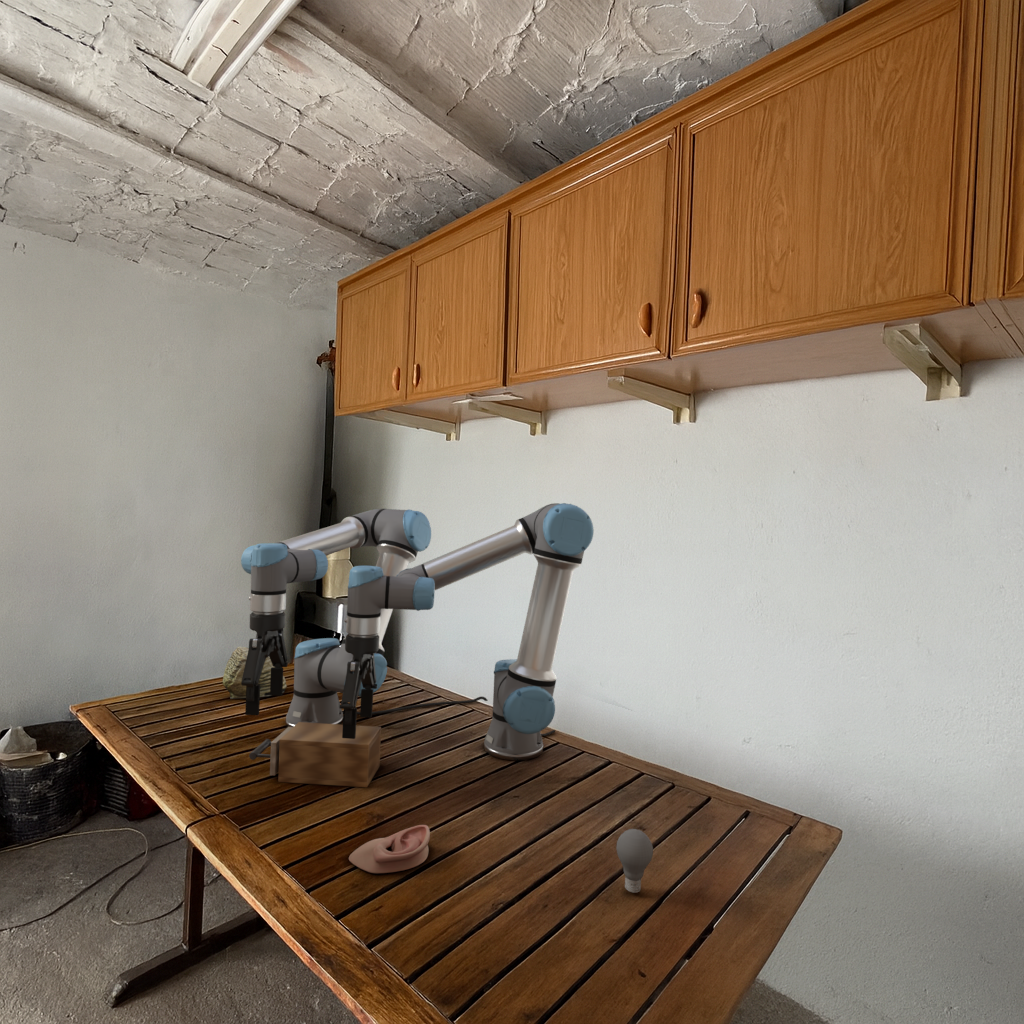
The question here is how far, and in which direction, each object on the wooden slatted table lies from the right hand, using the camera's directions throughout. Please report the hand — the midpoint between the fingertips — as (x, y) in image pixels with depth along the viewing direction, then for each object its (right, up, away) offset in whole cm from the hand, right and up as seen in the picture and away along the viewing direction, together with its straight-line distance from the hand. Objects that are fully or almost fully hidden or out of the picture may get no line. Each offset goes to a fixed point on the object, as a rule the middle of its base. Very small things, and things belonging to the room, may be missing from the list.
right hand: (357, 727), depth 144 cm
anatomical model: (+13, -12, -32) cm, 37 cm away
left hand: (-21, +5, 0) cm, 22 cm away
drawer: (-12, -10, +1) cm, 15 cm away
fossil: (-45, -8, +54) cm, 71 cm away
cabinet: (-6, -11, +1) cm, 13 cm away
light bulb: (+55, -14, -39) cm, 69 cm away
